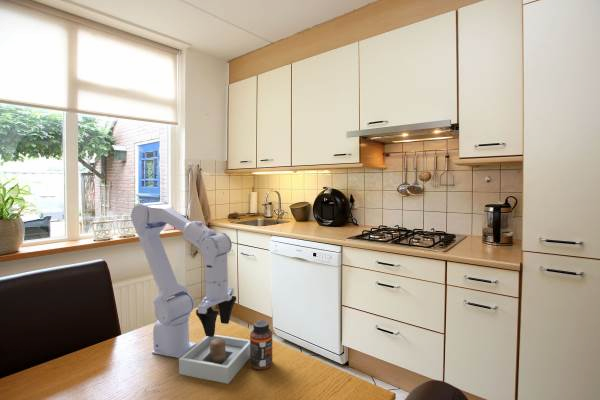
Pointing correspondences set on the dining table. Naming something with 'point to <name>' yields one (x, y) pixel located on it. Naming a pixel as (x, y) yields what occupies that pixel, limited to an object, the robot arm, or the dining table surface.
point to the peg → (217, 351)
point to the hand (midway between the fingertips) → (217, 329)
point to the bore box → (199, 366)
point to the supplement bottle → (261, 346)
